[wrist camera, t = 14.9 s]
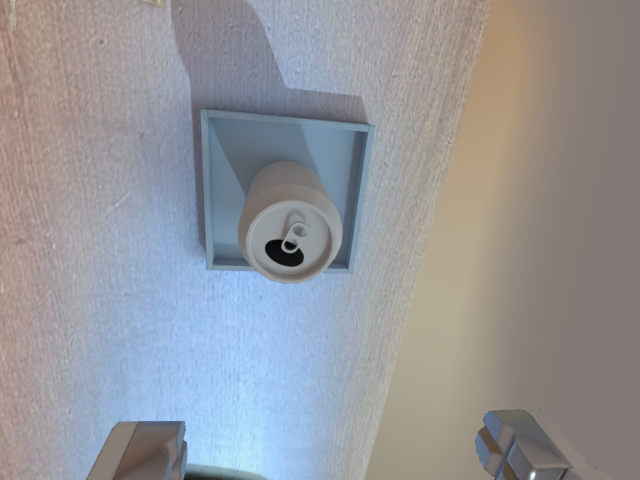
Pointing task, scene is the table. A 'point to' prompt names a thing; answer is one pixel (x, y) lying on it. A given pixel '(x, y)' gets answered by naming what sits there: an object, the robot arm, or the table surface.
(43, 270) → the table surface
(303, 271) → the can
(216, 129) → the tray
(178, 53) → the table surface
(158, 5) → the fairy figurine
